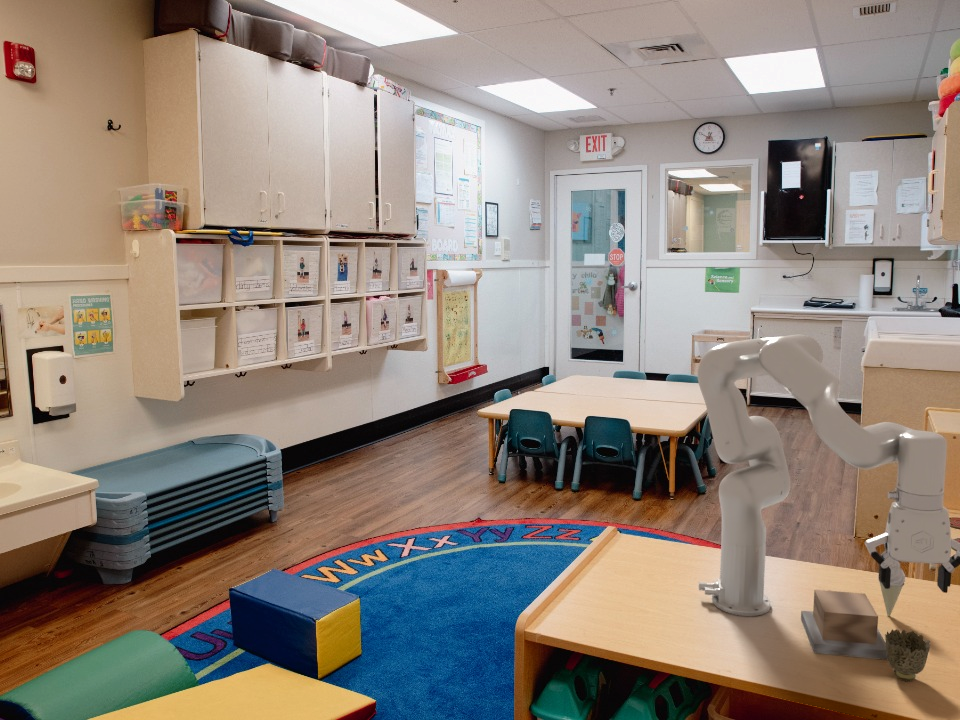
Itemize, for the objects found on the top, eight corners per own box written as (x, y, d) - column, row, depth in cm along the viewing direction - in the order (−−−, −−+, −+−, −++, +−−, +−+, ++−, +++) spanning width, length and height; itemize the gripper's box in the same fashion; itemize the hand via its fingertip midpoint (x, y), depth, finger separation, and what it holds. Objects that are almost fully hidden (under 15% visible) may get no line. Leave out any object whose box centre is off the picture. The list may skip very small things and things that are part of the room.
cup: (874, 667, 152) (877, 629, 150) (910, 665, 152) (913, 627, 151) (897, 690, 144) (900, 650, 143) (935, 687, 145) (939, 647, 143)
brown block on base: (813, 652, 157) (815, 615, 156) (800, 619, 171) (802, 584, 169) (889, 659, 154) (892, 622, 153) (870, 625, 168) (872, 590, 166)
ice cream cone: (905, 622, 168) (910, 556, 166) (879, 620, 169) (884, 555, 167) (897, 611, 173) (902, 547, 171) (873, 609, 174) (877, 545, 172)
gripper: (873, 503, 140) (868, 593, 143) (980, 508, 137) (973, 600, 139) (862, 490, 148) (858, 576, 150) (964, 494, 144) (957, 582, 147)
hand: (913, 587), depth 145 cm, fingers open, 9 cm apart
